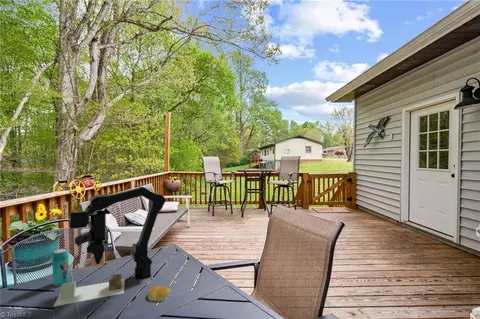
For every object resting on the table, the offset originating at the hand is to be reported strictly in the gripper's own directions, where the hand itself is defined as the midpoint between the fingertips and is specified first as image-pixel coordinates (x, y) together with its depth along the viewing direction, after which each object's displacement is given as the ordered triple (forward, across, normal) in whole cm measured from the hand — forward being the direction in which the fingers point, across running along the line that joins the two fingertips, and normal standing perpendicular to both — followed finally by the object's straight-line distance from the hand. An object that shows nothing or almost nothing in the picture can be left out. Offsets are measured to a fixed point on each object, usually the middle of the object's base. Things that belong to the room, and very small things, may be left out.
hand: (98, 261), depth 110 cm
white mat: (+12, +3, -2) cm, 12 cm away
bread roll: (+12, +17, +23) cm, 31 cm away
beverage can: (+12, -11, -16) cm, 23 cm away
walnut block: (+11, +3, +6) cm, 13 cm away
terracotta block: (+1, 0, 0) cm, 1 cm away
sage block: (+11, +3, -10) cm, 15 cm away
